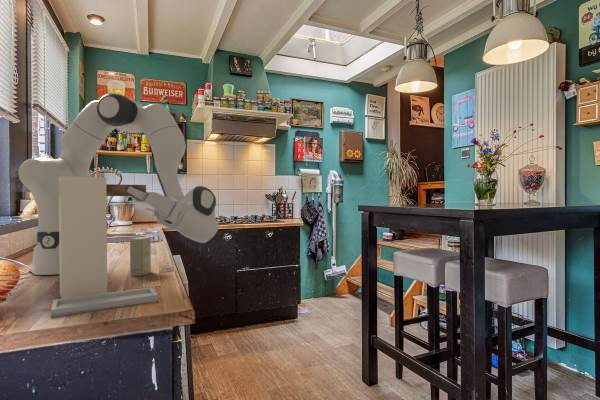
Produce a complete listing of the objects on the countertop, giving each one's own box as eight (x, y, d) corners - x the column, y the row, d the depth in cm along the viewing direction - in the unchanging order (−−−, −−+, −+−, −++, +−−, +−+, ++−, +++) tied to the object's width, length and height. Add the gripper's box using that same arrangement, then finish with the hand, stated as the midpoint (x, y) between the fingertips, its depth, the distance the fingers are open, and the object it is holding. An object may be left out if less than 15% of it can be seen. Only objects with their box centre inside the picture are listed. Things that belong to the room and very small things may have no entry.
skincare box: (143, 275, 115) (142, 238, 115) (129, 275, 115) (129, 238, 115) (151, 271, 121) (151, 236, 121) (138, 271, 121) (138, 236, 121)
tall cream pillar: (102, 287, 100) (101, 178, 100) (107, 294, 93) (106, 177, 93) (59, 293, 94) (58, 177, 94) (61, 301, 87) (60, 176, 87)
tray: (152, 293, 94) (151, 287, 94) (157, 301, 87) (157, 294, 87) (53, 306, 83) (53, 299, 83) (51, 317, 75) (50, 309, 75)
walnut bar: (143, 196, 104) (143, 185, 104) (146, 196, 101) (146, 184, 101) (70, 196, 93) (70, 184, 93) (71, 196, 90) (71, 183, 90)
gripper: (164, 202, 116) (124, 180, 109) (185, 203, 100) (140, 177, 92) (154, 219, 114) (113, 198, 107) (174, 223, 98) (127, 198, 91)
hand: (125, 188), depth 100 cm, fingers closed on walnut bar, 3 cm apart
